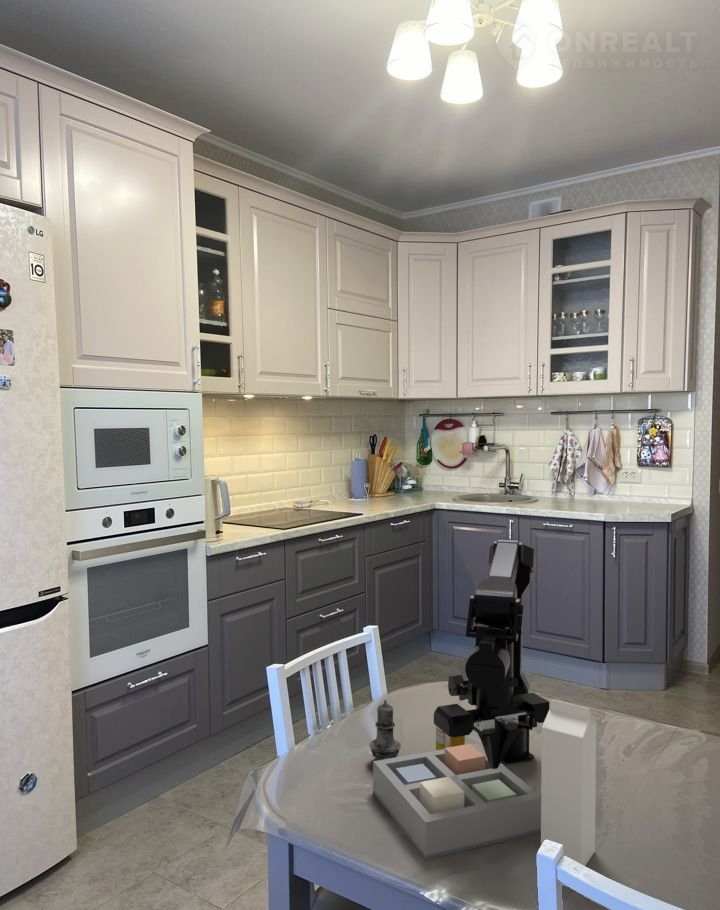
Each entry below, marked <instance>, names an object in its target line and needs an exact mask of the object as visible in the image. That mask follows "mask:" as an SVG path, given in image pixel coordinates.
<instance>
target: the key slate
mask: <svg viewBox="0 0 720 910" xmlns="http://www.w3.org/2000/svg"><path fill="white" fill-rule="evenodd" d="M396 776H397V777H398V778H399V779H400V781H401V782H402V783H403V784H404V785H407V784H412V783H418V782H423V781H428V780H433V779H436V776H435V775H434V774H433V773H432V772H431V771H430V770H429V769H428V768H427V767H426V766H425V765H424V764H418V765H412V766H407V767H401V768H396Z"/></svg>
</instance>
